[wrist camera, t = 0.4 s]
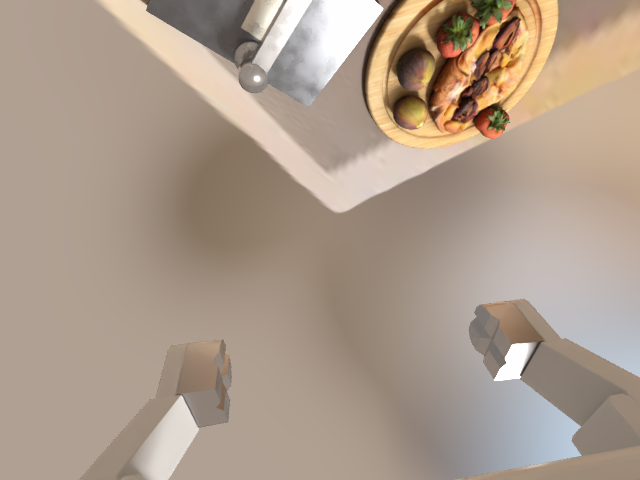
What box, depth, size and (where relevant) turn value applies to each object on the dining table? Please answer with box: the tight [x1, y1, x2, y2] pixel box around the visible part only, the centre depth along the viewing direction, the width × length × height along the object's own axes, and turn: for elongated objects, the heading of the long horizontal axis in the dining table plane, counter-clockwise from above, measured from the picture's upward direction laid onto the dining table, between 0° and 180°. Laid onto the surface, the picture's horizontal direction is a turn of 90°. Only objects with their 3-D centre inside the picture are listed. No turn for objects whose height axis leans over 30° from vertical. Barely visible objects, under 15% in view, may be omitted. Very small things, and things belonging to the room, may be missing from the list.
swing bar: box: [238, 0, 312, 93], centre depth 42 cm, size 21×4×2 cm, turn 143°
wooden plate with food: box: [365, 0, 559, 148], centre depth 56 cm, size 32×32×8 cm
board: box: [146, 0, 383, 107], centre depth 45 cm, size 18×26×5 cm
